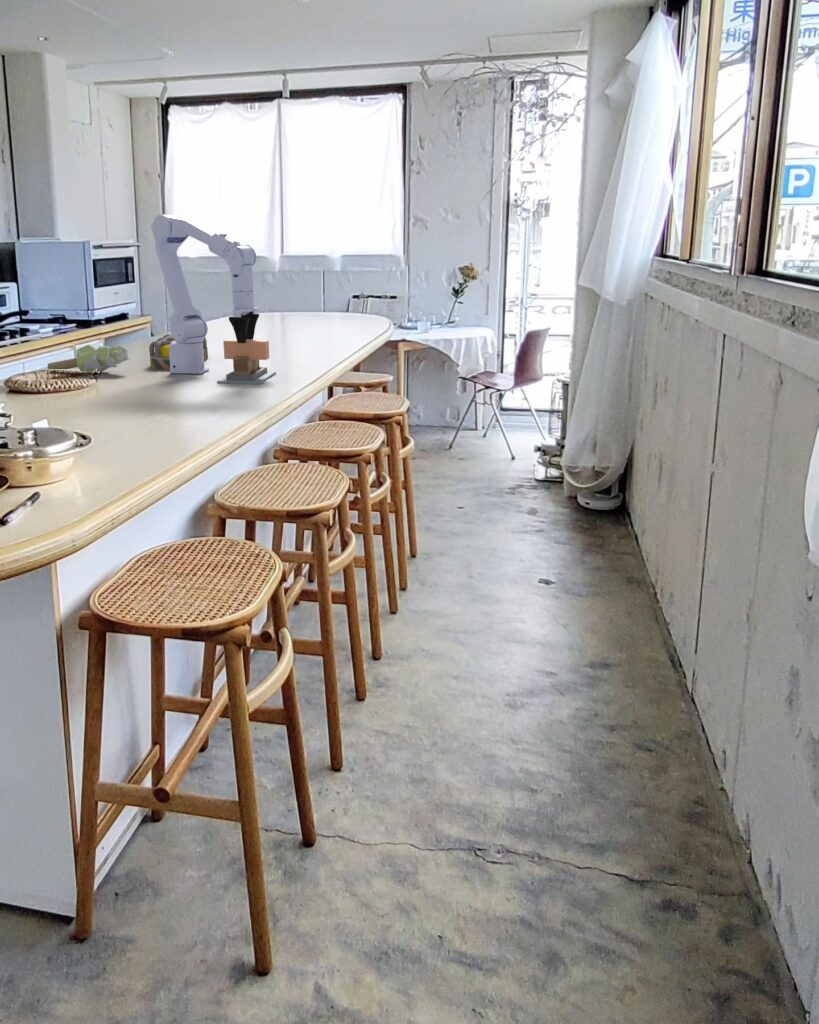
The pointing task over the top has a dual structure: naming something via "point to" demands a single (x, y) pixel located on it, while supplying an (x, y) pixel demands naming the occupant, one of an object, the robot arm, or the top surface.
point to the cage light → (166, 352)
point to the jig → (248, 377)
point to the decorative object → (93, 358)
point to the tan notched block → (245, 365)
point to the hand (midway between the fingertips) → (245, 341)
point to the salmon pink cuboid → (246, 349)
